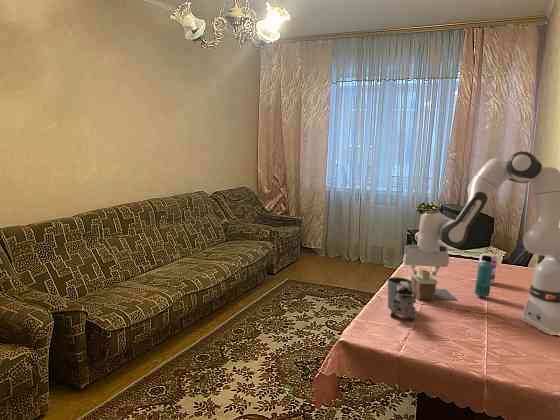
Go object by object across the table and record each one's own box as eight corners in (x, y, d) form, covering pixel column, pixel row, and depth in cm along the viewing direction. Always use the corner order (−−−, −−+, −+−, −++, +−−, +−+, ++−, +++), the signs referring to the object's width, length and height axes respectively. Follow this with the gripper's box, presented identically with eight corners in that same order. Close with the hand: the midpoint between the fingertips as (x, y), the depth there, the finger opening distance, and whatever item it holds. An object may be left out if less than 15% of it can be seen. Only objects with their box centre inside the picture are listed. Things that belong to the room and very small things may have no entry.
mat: (457, 300, 201) (457, 299, 201) (435, 299, 201) (435, 298, 201) (445, 290, 215) (445, 289, 215) (425, 289, 214) (425, 288, 214)
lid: (437, 284, 197) (438, 275, 196) (419, 283, 197) (420, 274, 196) (427, 275, 210) (428, 266, 209) (410, 274, 209) (411, 266, 209)
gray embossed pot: (410, 313, 182) (413, 285, 180) (385, 310, 184) (388, 282, 182) (408, 304, 192) (411, 278, 190) (384, 302, 194) (387, 275, 192)
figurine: (386, 321, 172) (390, 285, 170) (393, 312, 182) (397, 277, 180) (410, 327, 168) (414, 289, 166) (416, 317, 178) (420, 282, 176)
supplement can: (496, 285, 226) (500, 257, 224) (480, 284, 226) (484, 256, 224) (489, 280, 234) (493, 253, 232) (473, 279, 234) (477, 252, 232)
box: (434, 300, 199) (435, 283, 197) (418, 300, 198) (420, 283, 197) (424, 291, 210) (426, 275, 209) (410, 291, 210) (411, 275, 209)
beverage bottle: (473, 297, 206) (478, 256, 203) (474, 293, 212) (479, 253, 209) (488, 300, 203) (494, 258, 200) (489, 296, 209) (494, 255, 206)
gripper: (406, 246, 197) (403, 276, 200) (452, 248, 198) (448, 278, 200) (402, 242, 204) (399, 271, 206) (446, 245, 204) (443, 273, 206)
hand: (424, 274), depth 203 cm, fingers open, 8 cm apart
